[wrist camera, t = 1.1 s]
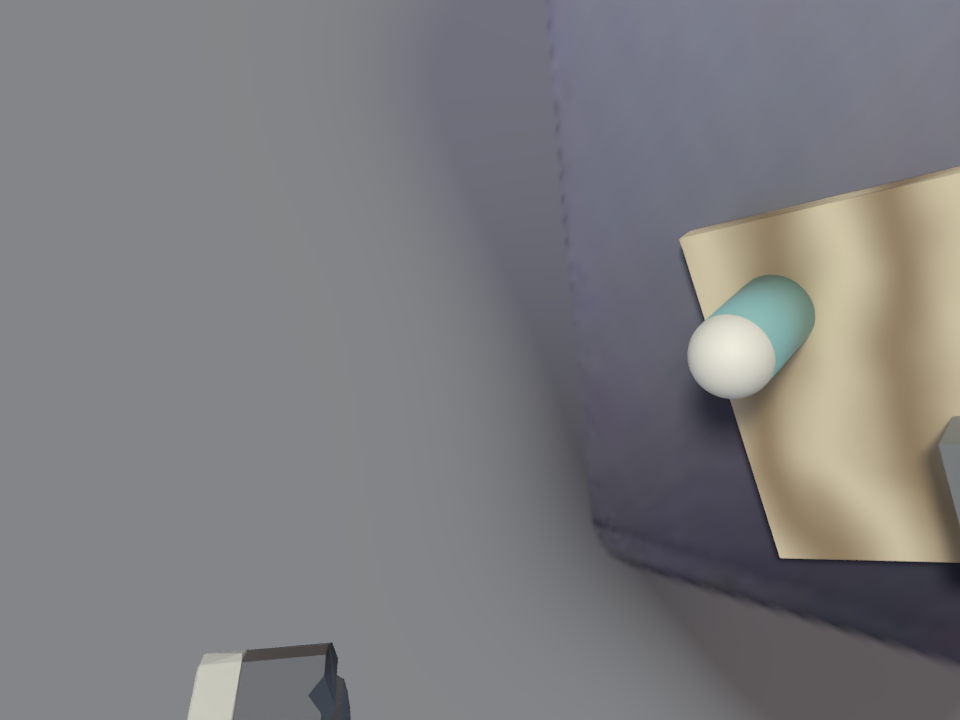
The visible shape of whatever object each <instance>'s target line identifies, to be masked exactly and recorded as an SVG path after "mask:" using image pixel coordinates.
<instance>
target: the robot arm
mask: <svg viewBox="0 0 960 720" xmlns="http://www.w3.org/2000/svg"><path fill="white" fill-rule="evenodd" d="M337 663H338V657H337V655H336V652H335V649H334V646H333V643H320V644H310V645H298V646H287V647H276V648H264V649H254V650H249V649H246V650H237V651H227V652H218V653H208V654H204V656H203V659H202V661H201V663H200V665H199V667H198V669H197V674H196V679H195V683H194V688H193V693H192V698H191V703H190V708H189V713H188V718H187V720H351V718H350V704H349V698H348V691H347V688H346V684H345V681H344V679H342V678H341V677H339V676H338V675H337Z"/></svg>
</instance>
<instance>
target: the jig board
mask: <svg viewBox="0 0 960 720" xmlns="http://www.w3.org/2000/svg"><path fill="white" fill-rule="evenodd" d="M679 239H680V242H681V246H682V249H683V252H684V255H685V258H686V262H687V265H688V268H689V271H690V274H691V277H692V281H693V284H694V287H695V290H696V293H697V296H698V300H699V303H700V306H701V309H702V312H703V315H704V319H705V320H706V319H707V318H708V317H709V316H711V315H712V314H713V313H714V312H715V311H716V310H717V309H718V308H720V307H721V306H722V305H723V304H724V303H725V302H726V301H728V300H729V299H730V298H731V297H732V296H733V295H734V294H735V293H737V292H738V291H739V290H740V289H741V288H742V287H743V286H744V285H746V284H747V283H748V282H749V281H751V280H752V279H754V278H756V277H759V276H763V275H780V276H784V277H787V278H789V279H791V280H793V281H795V282H796V283H798V284H799V285H800V286H801V287H802V288H803V289H804V290H805V291H806V292H807V293H808V295H809V296H810V298H811V300H812V302H813V305H814V309H815V323H814V327H813V330H812V332H811V333H810V335H809V336H808V338H807V339H806V340H805V341H804V342H803V343H802V345H801V346H800V347H799V348H798V349H797V350H796V351H795V353H794V354H793V355H792V356H791V357H790V358H789V359H788V361H787V362H786V363H785V364H784V365H783V366H782V367H781V369H780V370H779V371H778V372H777V373H776V374H775V375H774V377H773V378H772V379H771V380H770V381H769V382H768V383H767V384H766V385H765V386H764V387H763V388H762V389H761V390H759V391H758V392H756V393H755V394H752V395H750V396H748V397H744V398H739V399H730V401H731V404H732V408H733V411H734V414H735V417H736V420H737V423H738V427H739V430H740V433H741V436H742V439H743V443H744V446H745V449H746V452H747V455H748V458H749V462H750V465H751V468H752V471H753V474H754V477H755V481H756V484H757V487H758V490H759V493H760V497H761V500H762V503H763V506H764V509H765V512H766V516H767V519H768V522H769V525H770V528H771V531H772V535H773V538H774V541H775V544H776V547H777V550H778V554H779V557H780V558H793V559H833V560H873V561H913V562H953V563H960V524H959V521H958V517H957V513H956V509H955V505H954V502H953V498H952V494H951V490H950V486H949V483H948V479H947V475H946V471H945V467H944V464H943V460H942V456H941V452H940V448H939V445H938V444H939V442H940V440H941V438H942V436H943V434H944V432H945V430H946V428H947V426H948V424H949V422H950V420H951V418H952V417H954V416H960V166H959V167H955V168H951V169H947V170H943V171H938V172H934V173H930V174H926V175H922V176H918V177H913V178H909V179H905V180H901V181H897V182H892V183H888V184H884V185H880V186H876V187H871V188H867V189H863V190H859V191H855V192H851V193H846V194H842V195H838V196H834V197H830V198H825V199H821V200H817V201H813V202H809V203H804V204H800V205H796V206H792V207H788V208H784V209H779V210H775V211H771V212H767V213H763V214H758V215H754V216H750V217H746V218H742V219H737V220H733V221H729V222H725V223H721V224H717V225H712V226H708V227H704V228H700V229H696V230H691V231H690V232H688V233H687V234H685V235H684V236H682V237H681V238H679Z"/></svg>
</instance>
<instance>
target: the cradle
mask: <svg viewBox="0 0 960 720" xmlns="http://www.w3.org/2000/svg"><path fill="white" fill-rule="evenodd" d="M938 445H939V448H940V452H941V456H942V460H943V464H944V467H945V471H946V475H947V479H948V483H949V486H950V490H951V494H952V498H953V502H954V505H955V509H956V513H957V517H958V521H959V524H960V416H954V417H952V418H951V420H950V422H949V424H948V426H947V428H946V430H945V432H944V434H943V436H942V438H941V440H940V442H939V444H938Z"/></svg>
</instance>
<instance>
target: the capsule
mask: <svg viewBox="0 0 960 720" xmlns="http://www.w3.org/2000/svg"><path fill="white" fill-rule="evenodd" d="M814 323H815V309H814V305H813V302H812V300H811V298H810V296H809V295H808V293H807V292H806V291H805V290H804V289H803V288H802V287H801V286H800V285H799V284H798V283H796V282H795V281H793V280H791V279H789V278H787V277H784V276H780V275H763V276H759V277H756V278H754V279H752V280H751V281H749V282H748V283H747V284H746V285H744V286H743V287H742V288H741V289H740V290H739V291H738V292H737V293H735V294H734V295H733V296H732V297H731V298H730V299H729V300H728V301H726V302H725V303H724V304H723V305H722V306H721V307H720V308H718V309H717V310H716V311H715V312H714V313H713V314H712V315H711V316H709V317H708V318H707V319H706V320H705V321H704V322H703V323H702V324H701V325H700V326H699V327H698V328H697V329H696V330H695V332H694V333H693V335H692V337H691V340H690V343H689V346H688V364H689V368H690V371H691V373H692V375H693V377H694V378H695V380H696V381H697V383H698V384H699V385H700V386H701V387H702V388H703V389H705V390H706V391H708V392H709V393H711V394H713V395H715V396H718V397H721V398H727V399H739V398H744V397H748V396H750V395H752V394H755V393H756V392H758V391H759V390H761V389H762V388H763V387H764V386H765V385H766V384H767V383H768V382H769V381H770V380H771V379H772V378H773V377H774V375H775V374H776V373H777V372H778V371H779V370H780V369H781V367H782V366H783V365H784V364H785V363H786V362H787V361H788V359H789V358H790V357H791V356H792V355H793V354H794V353H795V351H796V350H797V349H798V348H799V347H800V346H801V345H802V343H803V342H804V341H805V340H806V339H807V338H808V336H809V335H810V333H811V332H812V330H813V327H814Z"/></svg>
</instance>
